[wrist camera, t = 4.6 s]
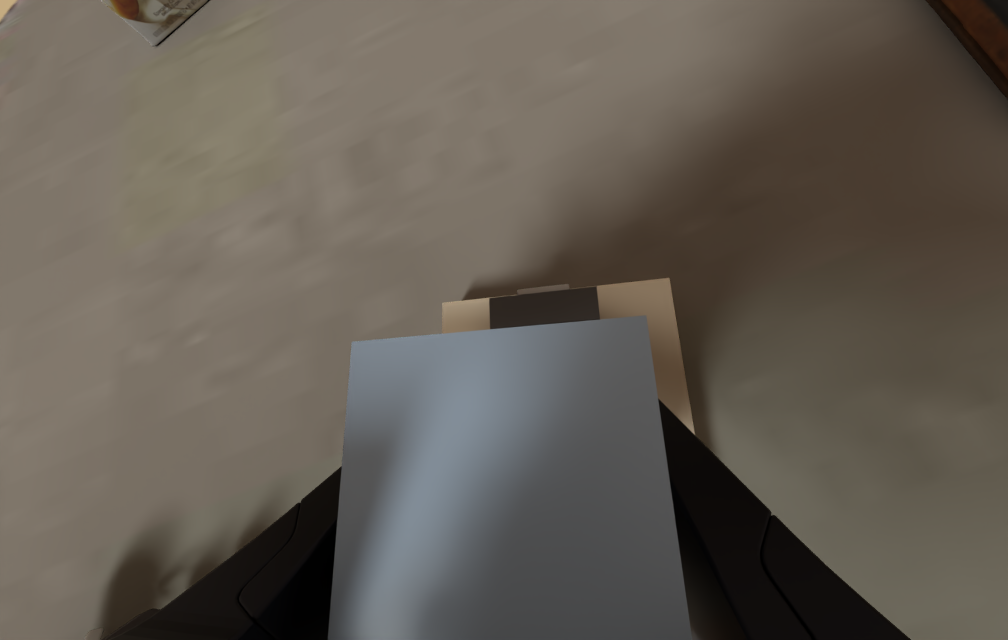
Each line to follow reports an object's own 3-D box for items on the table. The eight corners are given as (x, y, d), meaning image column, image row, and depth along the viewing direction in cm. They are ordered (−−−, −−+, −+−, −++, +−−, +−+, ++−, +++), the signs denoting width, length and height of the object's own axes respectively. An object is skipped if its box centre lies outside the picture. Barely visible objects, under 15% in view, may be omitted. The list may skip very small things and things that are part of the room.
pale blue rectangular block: (629, 522, 12) (712, 781, 4) (499, 518, 14) (321, 712, 5) (613, 378, 14) (646, 315, 5) (496, 384, 15) (352, 341, 6)
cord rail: (775, 935, 11) (872, 1219, 7) (443, 850, 13) (382, 1027, 9) (669, 289, 16) (692, 250, 12) (448, 312, 18) (411, 285, 15)
